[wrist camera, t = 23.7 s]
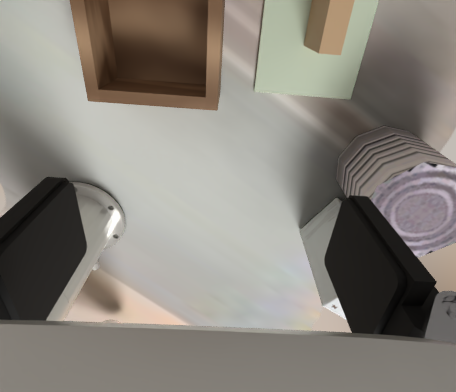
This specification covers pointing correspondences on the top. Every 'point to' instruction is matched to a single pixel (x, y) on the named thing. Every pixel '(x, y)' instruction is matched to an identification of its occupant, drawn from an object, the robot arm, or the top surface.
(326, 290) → the skincare box
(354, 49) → the lid
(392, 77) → the top surface
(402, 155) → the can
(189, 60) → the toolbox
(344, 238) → the robot arm
